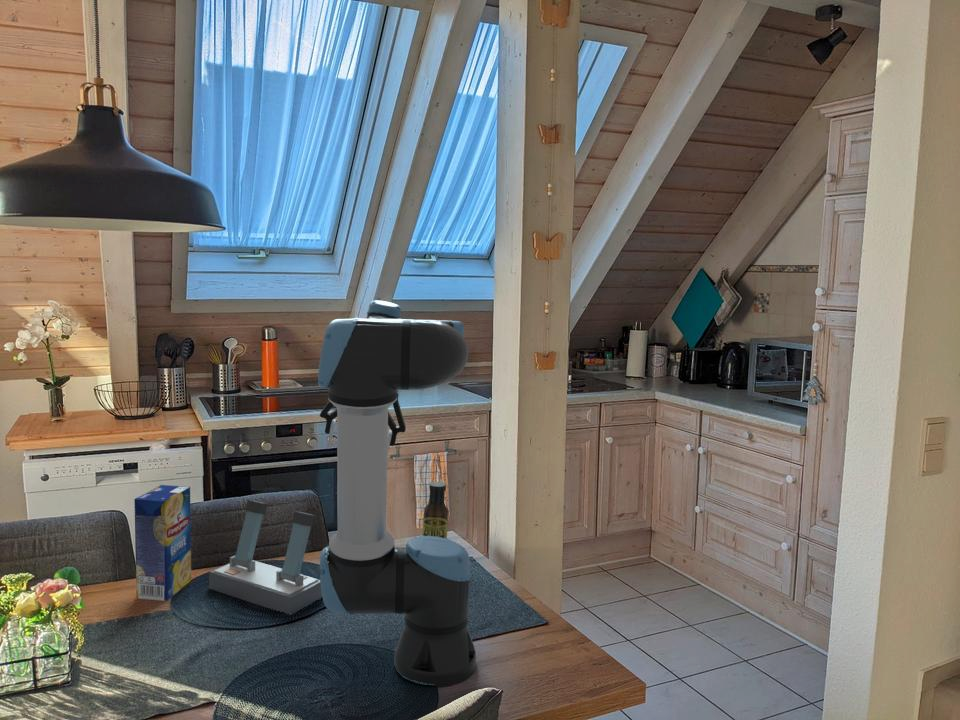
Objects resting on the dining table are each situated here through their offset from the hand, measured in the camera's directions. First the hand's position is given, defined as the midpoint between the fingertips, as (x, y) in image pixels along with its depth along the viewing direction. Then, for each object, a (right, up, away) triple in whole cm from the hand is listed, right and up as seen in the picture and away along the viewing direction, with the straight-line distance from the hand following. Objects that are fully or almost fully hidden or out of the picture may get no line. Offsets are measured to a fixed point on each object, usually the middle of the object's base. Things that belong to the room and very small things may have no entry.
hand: (357, 452), depth 182 cm
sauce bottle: (+18, -28, +9) cm, 35 cm away
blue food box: (-41, -29, -13) cm, 52 cm away
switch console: (-18, -30, -13) cm, 37 cm away
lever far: (-24, -24, -11) cm, 35 cm away
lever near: (-12, -25, -17) cm, 32 cm away
